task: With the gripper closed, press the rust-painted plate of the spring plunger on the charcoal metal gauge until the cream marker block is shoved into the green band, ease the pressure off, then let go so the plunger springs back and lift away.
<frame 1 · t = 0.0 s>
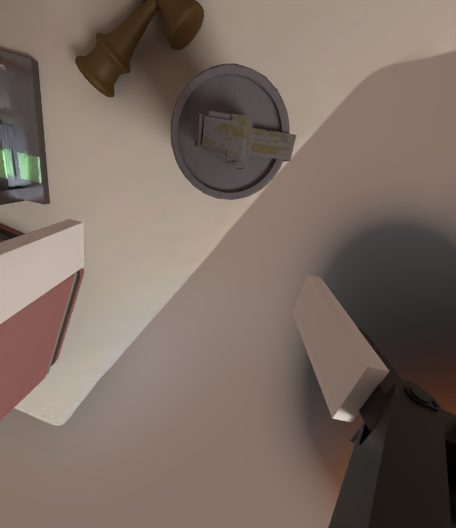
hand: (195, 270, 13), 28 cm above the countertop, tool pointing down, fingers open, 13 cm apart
kendama: (149, 31, 31), on the countertop
toaster: (27, 305, 50), on the countertop
canister: (233, 149, 36), on the countertop
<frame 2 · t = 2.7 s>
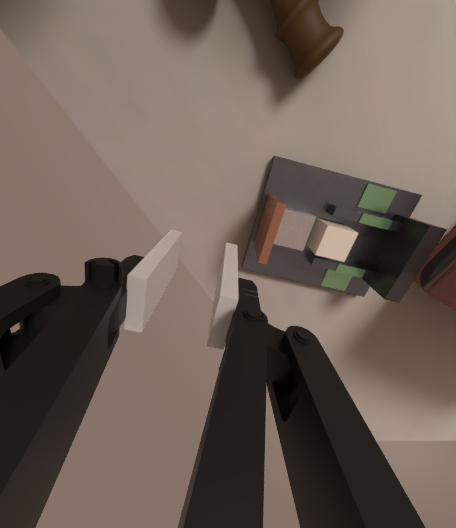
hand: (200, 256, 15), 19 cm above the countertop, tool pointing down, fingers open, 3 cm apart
gauge: (322, 232, 33), on the countertop
marker: (325, 234, 32), point 1 cm above the countertop, touching gauge
plunger: (288, 232, 28), point 5 cm above the countertop, slide at 0.0 cm
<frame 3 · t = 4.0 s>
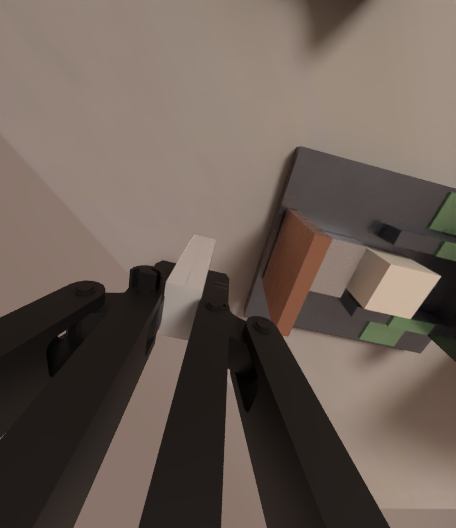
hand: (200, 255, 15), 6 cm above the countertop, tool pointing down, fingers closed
gauge: (365, 264, 22), on the countertop
marker: (372, 269, 21), point 1 cm above the countertop, touching gauge
plunger: (322, 273, 17), point 5 cm above the countertop, slide at 0.0 cm
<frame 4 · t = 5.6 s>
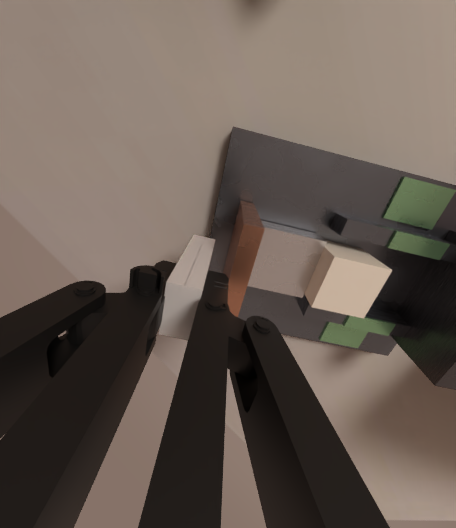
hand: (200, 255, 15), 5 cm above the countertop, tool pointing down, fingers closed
gauge: (321, 259, 20), on the countertop
marker: (328, 265, 19), point 1 cm above the countertop
plunger: (275, 271, 15), point 5 cm above the countertop, slide at 1.2 cm, touching gripper
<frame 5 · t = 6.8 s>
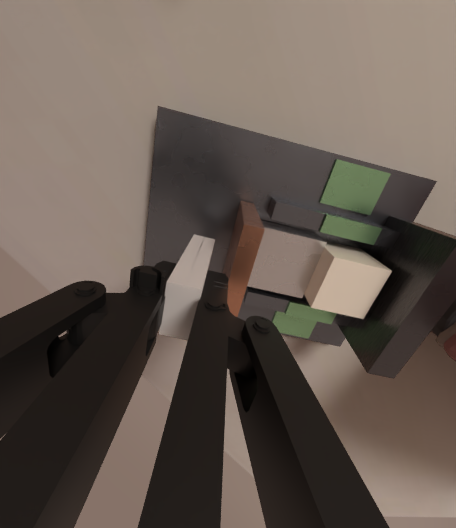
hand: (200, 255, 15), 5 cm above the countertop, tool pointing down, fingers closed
gauge: (266, 246, 20), on the countertop
marker: (328, 265, 19), point 1 cm above the countertop, touching gauge, plunger
plunger: (275, 271, 15), point 5 cm above the countertop, slide at 6.3 cm, touching gripper, marker
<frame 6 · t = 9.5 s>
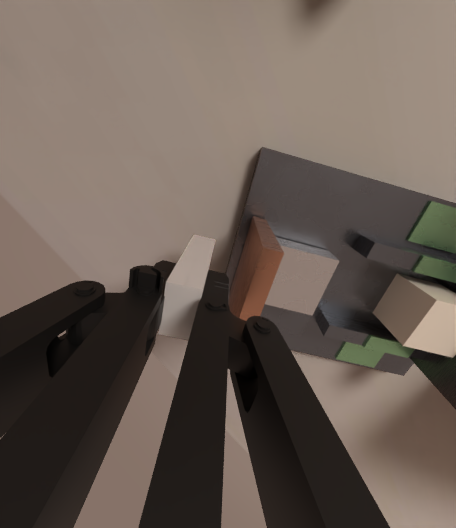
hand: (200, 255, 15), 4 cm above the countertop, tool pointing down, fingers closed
gauge: (341, 277, 20), on the countertop
marker: (405, 299, 19), point 1 cm above the countertop, touching gauge
plunger: (287, 289, 15), point 5 cm above the countertop, slide at 0.2 cm
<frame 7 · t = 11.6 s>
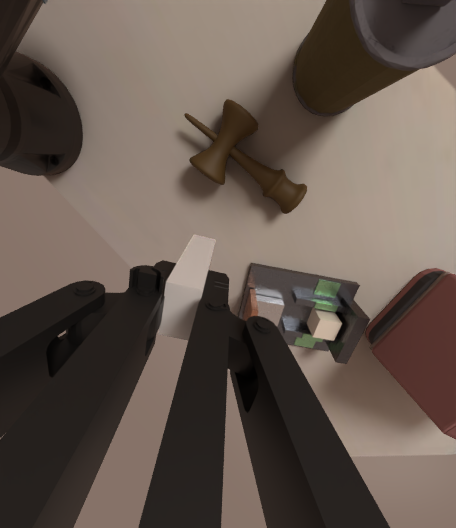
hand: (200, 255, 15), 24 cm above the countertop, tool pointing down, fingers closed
kendama: (244, 161, 35), on the countertop
toaster: (455, 333, 46), on the countertop
gauge: (291, 308, 45), on the countertop
canister: (332, 68, 30), on the countertop
marker: (319, 316, 44), point 1 cm above the countertop, touching gauge
plunger: (264, 318, 40), point 5 cm above the countertop, slide at 0.2 cm
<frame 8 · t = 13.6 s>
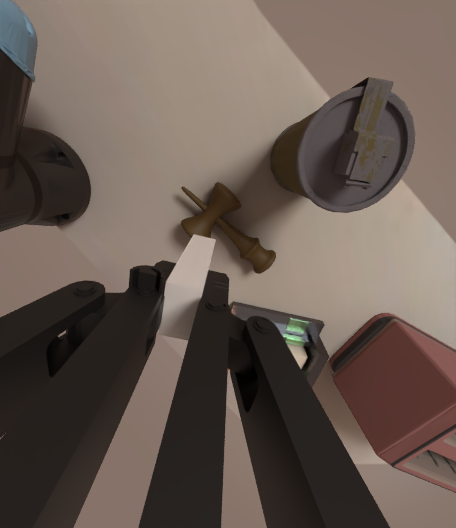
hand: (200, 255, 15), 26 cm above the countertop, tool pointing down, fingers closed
kendama: (228, 224, 42), on the countertop
toaster: (405, 365, 54), on the countertop
gauge: (267, 339, 52), on the countertop
canister: (303, 157, 37), on the countertop
marker: (290, 347, 51), point 1 cm above the countertop, touching gauge
plunger: (242, 350, 47), point 5 cm above the countertop, slide at 0.2 cm
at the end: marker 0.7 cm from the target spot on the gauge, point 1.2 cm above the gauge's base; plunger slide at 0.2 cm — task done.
